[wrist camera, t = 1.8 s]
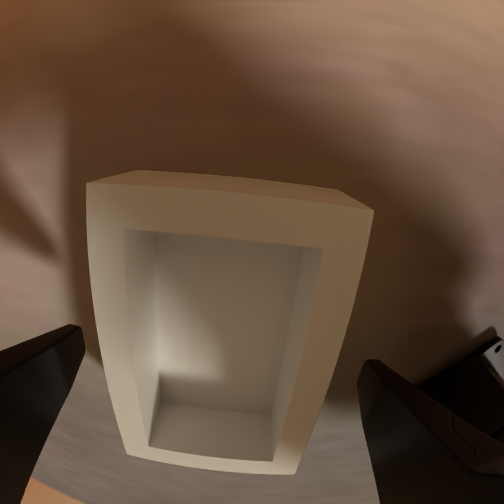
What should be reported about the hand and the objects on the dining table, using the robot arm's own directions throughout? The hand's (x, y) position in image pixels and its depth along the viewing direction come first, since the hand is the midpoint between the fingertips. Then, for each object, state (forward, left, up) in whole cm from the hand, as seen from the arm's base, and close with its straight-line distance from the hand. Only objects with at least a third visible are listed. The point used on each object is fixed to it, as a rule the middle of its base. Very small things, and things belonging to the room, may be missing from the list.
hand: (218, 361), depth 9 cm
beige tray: (0, 0, -3) cm, 3 cm away
